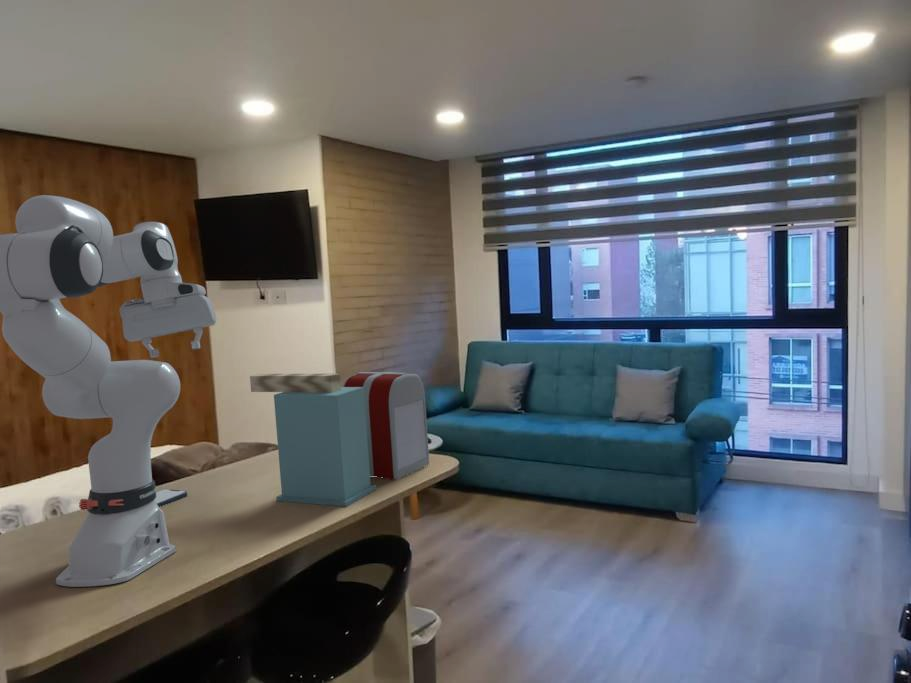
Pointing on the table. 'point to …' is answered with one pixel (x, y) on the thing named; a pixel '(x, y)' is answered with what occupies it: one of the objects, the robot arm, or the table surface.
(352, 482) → the tall teal upright box
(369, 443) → the red striped toaster
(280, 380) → the rail
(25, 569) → the table surface
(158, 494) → the phone case
